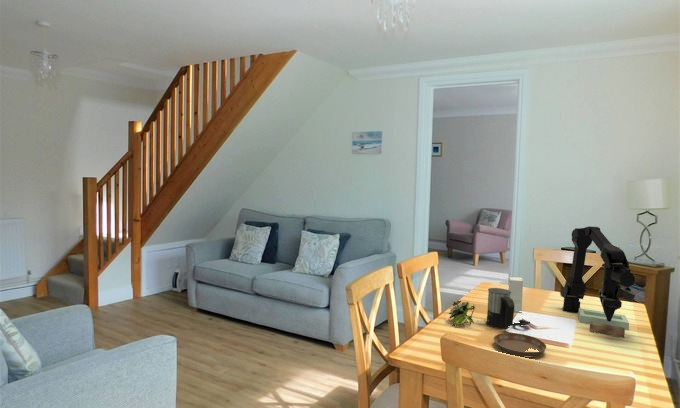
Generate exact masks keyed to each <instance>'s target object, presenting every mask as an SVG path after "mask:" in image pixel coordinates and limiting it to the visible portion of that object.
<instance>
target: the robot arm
mask: <svg viewBox="0 0 680 408" xmlns="http://www.w3.org/2000/svg"><path fill="white" fill-rule="evenodd" d="M571 242H572V243H573V246H574V249H573V257H572V263H571V264H572V265H571V269H570V270H571V271H570V276H569V277H568V278H567V279H566V281H565V283H564V286H563V287H562V288H561V290H560V291H559V293H560V297H561V298H563V303H562V304H563V306H562V311H563V312H570V313H575V314H578V312H579V308H581V301H580V300H584V297H585V295H586V290H587V289H586V288H587V284H586V283H585V281H584V280H583V279H584V278H583V276H584V270H585V269H584V268H585V263H586V255H587V250H588V248H589V247H590V246H591V245H592V243H593V244H595V246H596V247H597V248H598V250H599V251H600V258H601V260H602V261H603V263H602V264H601V267H602V268H603V275H602V277H603V278H602V280H601V284H602V286H601V288H600V289H598V297H599V301H600V303H601V307H602V310H603V312H604V313H605V315H606V318H607V321H609V322H610V321H611V319H612V317H613V314H614V313H615V312H616V310H619V309H620V308H622V306H623V304H622V303H623V302H622V301H621V298H623V299H624V300H627V301H628V302H630V303H632V302H633V301H634V299H635V298H636V296H637V295H636V294H635V292H633V291H632V289H631V288H630V287H631V286H633V285H634V284H635V282H636V277H635V275H634V274H633V273H632V272H631V271H632V270H631V268H630V266H629V265H630V263H629V262H628V259H627V255H626V254H625V252H624V250H623V249H621V248H620V247H618V246H616V245H614V244H612V243H611V242H610V241H609V239H608V238H607V237H606V236H605V234H604V233H603V232H602V231H601V228H600V227H598V226H585V227H580V228H578V227H577V228H574V229H573V230H572V231H571Z"/></svg>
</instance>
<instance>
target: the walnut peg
mask: <svg viewBox="0 0 680 408" xmlns="http://www.w3.org/2000/svg"><path fill="white" fill-rule="evenodd" d="M625 331H626V330H625V329H624V328H623V327H618V326H612V325H606V324H601V323H595V322H590V324H589V333H594V332H595V334H599V333H600V335H606V336H610V335H611V336H612V337H617V338H621V339H622V338H623V339H624V338H625ZM611 336H610V337H611Z"/></svg>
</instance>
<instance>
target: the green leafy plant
mask: <svg viewBox="0 0 680 408" xmlns="http://www.w3.org/2000/svg"><path fill="white" fill-rule="evenodd" d="M452 306H453V308H450V311H449V312H448V314H449V315H450V316H449V318H448V319H452V320H451V325H452V326H454V325H455V326H457V325H463V324H464V323H465V322H466V321H469V327H471V326H472V324H474V323H475V321H474V320H473V317H472V316H473V313H474V311H475V309H476V305H474V304H472V305H470V303H469V301H466V302H462V300H457V301H453V304H452ZM469 311H471V314H470V315H468V312H469Z"/></svg>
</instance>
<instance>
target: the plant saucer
mask: <svg viewBox="0 0 680 408" xmlns="http://www.w3.org/2000/svg"><path fill="white" fill-rule="evenodd" d="M493 341H494V342H495V344H496V346H497V347H498V348H499V349H500V350H501V351H502V352H504V351H505V352H504V353H506V352H507V353H506V354H509V355H511V354H512V356H514V355H517V356H516V357H519V356H523V357H522V358H525V357H524V356H536V357H538V355H539V356H540V355H542V354H543V353H544V352H545V351H546V350H547V344H546V343H545V342H544V341H542V340H540V339H538V338H537V337H534V336H531V335H528V334H527V335H526V334H521V333H516V332H502V333H498V334H496V335H494V337H493ZM529 348H530V349H531V348H532V349H534V350H536V349H537V350H538V351H539V352H525V351H526V350H527V351H528V349H529Z"/></svg>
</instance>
